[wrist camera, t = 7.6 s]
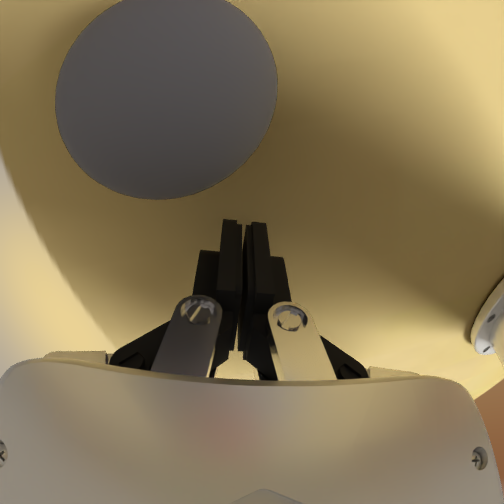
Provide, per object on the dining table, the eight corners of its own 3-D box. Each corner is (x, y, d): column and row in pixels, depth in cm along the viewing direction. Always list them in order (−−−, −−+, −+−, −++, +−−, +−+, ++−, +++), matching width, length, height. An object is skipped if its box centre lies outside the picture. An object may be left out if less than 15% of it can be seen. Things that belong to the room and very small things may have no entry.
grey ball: (247, 98, 3) (336, 16, 6) (-8, 28, 3) (159, -37, 6) (191, 275, 8) (268, 148, 11) (42, 186, 8) (143, 90, 11)
